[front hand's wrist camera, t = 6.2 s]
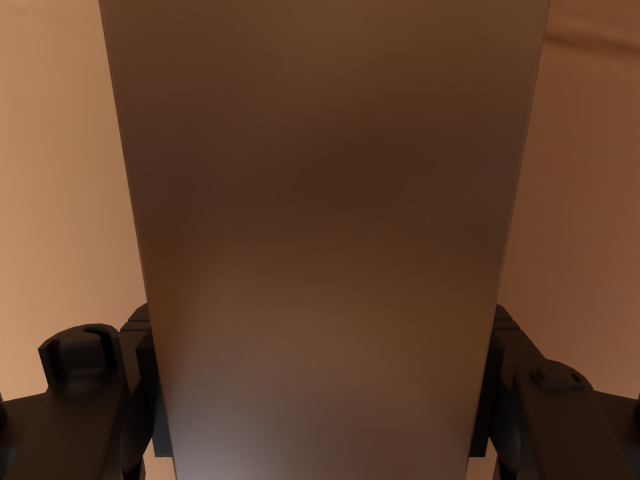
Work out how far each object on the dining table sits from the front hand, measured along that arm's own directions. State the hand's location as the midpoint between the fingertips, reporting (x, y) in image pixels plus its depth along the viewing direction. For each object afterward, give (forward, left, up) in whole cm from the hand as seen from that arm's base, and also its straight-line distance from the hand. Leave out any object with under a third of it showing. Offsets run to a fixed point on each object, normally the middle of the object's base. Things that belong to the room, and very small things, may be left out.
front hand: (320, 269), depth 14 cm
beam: (+16, +7, -1) cm, 18 cm away
